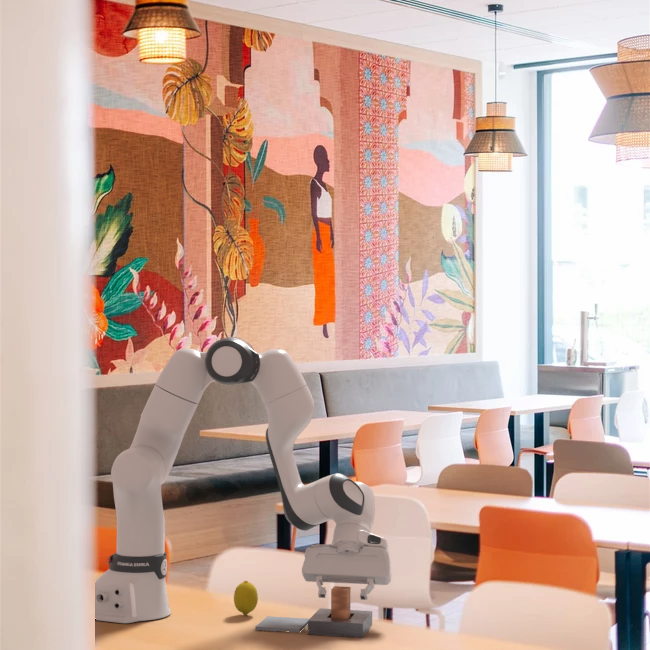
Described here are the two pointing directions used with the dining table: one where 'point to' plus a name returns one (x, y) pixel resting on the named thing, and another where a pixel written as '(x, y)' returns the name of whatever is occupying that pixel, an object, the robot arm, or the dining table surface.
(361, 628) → the collar block
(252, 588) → the lemon
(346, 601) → the peg
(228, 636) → the dining table surface
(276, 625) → the mat
